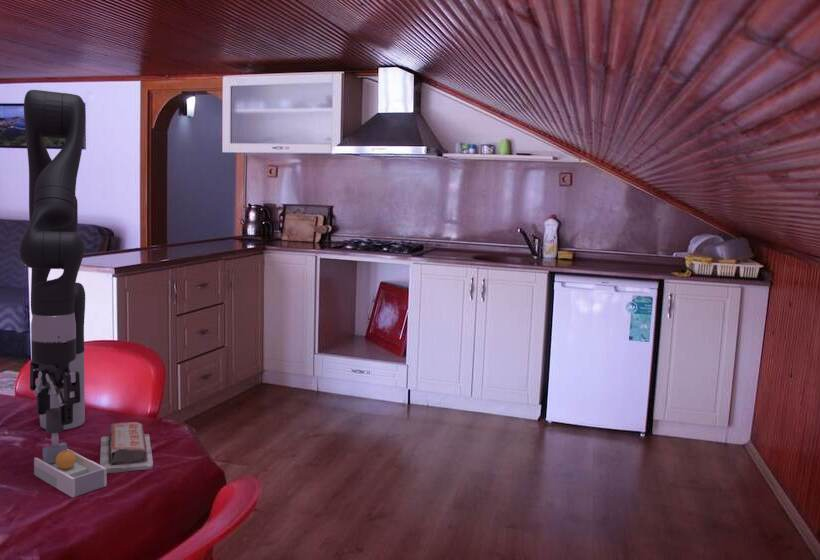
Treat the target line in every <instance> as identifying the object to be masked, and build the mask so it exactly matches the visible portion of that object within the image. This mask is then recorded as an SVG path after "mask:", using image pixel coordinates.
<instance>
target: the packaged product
mask: <svg viewBox="0 0 820 560" xmlns="http://www.w3.org/2000/svg"><path fill="white" fill-rule="evenodd" d="M143 427H144V426H143V424H142V423H140V422H137V421H128V422H117V423H111V425H110V427H109V428H110V429H109V434H108V435H109V436H106V435H103V436H101V437H100V452H99V465H101V466H103V467H105V468H107V474H118V473H125V472H132V471H133V472H134V471H143V470H144V471H145V470H152V469H153V468H154V459H153V453H152V446H151V438H150V434H149V433H146V434H145V432H144V428H143Z"/></svg>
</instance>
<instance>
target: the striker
mask: <svg viewBox="0 0 820 560" xmlns="http://www.w3.org/2000/svg"><path fill="white" fill-rule="evenodd" d="M63 431H65V430H64V425H61V424H60V423H59V408H51V409H48V410H46V429H45V432H46V433H48V434H51V435H50V436H51V445H49V446H45V447H42V461H44V462H46V463H48V464H51V463H55V462H56V461H55V460H56V456H57V455H58V454H59V453H60V452H61V451H64V450H67V449H68V443H65V442H63V441H62V442H61V443H59V442H60V441H59V440H60V439H59V433H61V432H63Z"/></svg>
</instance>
